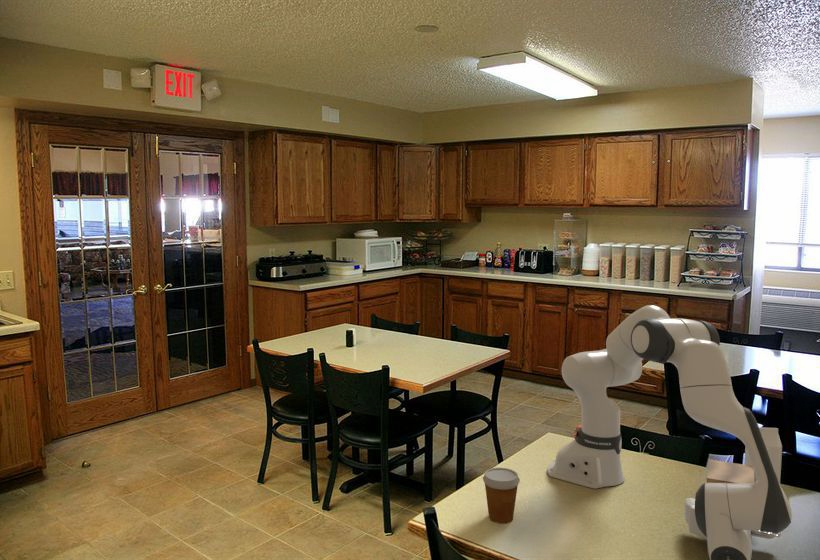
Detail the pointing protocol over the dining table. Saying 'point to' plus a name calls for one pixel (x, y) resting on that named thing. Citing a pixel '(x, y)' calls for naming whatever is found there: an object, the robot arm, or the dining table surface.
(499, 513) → the disposable coffee cup
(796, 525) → the dining table surface
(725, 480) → the walnut cubby
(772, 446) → the milk carton
